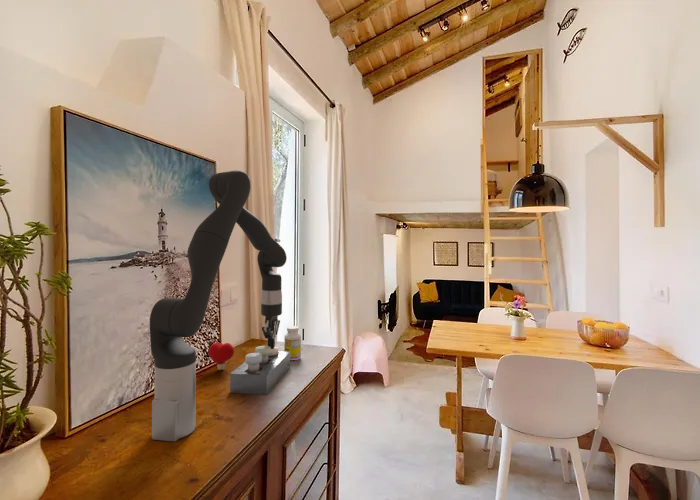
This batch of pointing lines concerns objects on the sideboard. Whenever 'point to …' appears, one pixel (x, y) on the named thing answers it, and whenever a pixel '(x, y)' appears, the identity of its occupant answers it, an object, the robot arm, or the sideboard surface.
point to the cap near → (253, 361)
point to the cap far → (274, 352)
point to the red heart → (221, 353)
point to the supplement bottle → (293, 342)
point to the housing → (260, 375)
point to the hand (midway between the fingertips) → (271, 348)
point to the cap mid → (263, 353)
